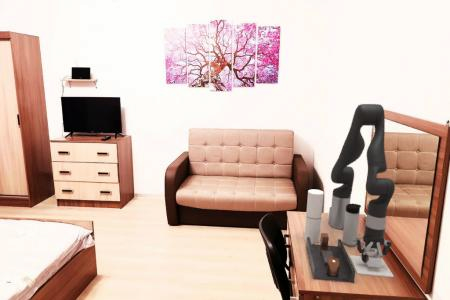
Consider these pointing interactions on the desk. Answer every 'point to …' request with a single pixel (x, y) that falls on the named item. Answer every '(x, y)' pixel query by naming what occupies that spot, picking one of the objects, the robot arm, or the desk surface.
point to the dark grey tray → (330, 261)
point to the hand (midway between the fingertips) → (370, 262)
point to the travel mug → (351, 224)
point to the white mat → (370, 268)
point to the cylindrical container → (314, 215)
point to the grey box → (373, 258)
